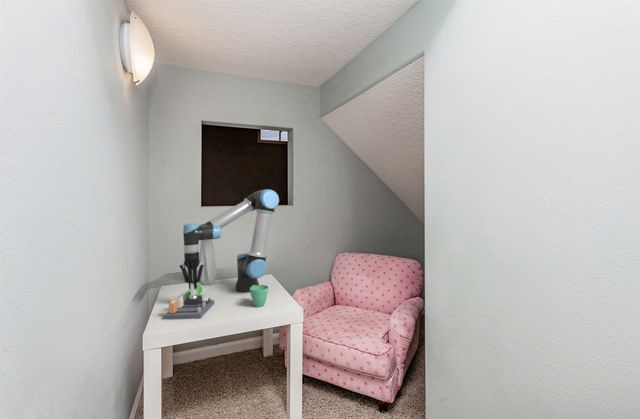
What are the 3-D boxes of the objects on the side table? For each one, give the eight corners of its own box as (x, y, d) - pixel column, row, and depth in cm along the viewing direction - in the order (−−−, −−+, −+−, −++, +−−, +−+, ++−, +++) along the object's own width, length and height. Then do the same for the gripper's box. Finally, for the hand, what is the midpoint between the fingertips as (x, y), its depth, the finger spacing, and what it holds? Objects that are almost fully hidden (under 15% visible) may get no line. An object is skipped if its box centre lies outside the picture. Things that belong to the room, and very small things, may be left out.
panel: (214, 303, 173) (213, 294, 173) (200, 318, 152) (200, 308, 152) (181, 304, 172) (181, 295, 172) (163, 319, 151) (163, 309, 151)
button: (199, 299, 171) (199, 293, 171) (196, 302, 167) (196, 296, 167) (191, 300, 171) (191, 293, 171) (188, 302, 167) (187, 296, 167)
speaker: (198, 303, 174) (198, 290, 174) (184, 304, 173) (184, 291, 172) (202, 293, 191) (202, 281, 191) (190, 295, 190) (189, 282, 189)
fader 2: (183, 305, 164) (182, 295, 164) (180, 308, 160) (179, 298, 160) (178, 305, 164) (178, 295, 164) (175, 308, 160) (175, 298, 160)
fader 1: (177, 310, 157) (177, 300, 157) (174, 313, 153) (173, 302, 153) (172, 310, 157) (172, 300, 157) (169, 313, 153) (168, 302, 153)
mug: (271, 306, 166) (271, 288, 166) (254, 310, 161) (253, 291, 161) (261, 299, 179) (260, 282, 178) (244, 302, 173) (244, 285, 173)
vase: (221, 281, 218) (219, 235, 217) (211, 286, 207) (209, 237, 205) (205, 280, 221) (204, 235, 219) (195, 285, 210) (193, 237, 208)
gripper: (206, 250, 172) (207, 292, 173) (182, 251, 171) (184, 292, 172) (201, 253, 164) (202, 296, 165) (176, 253, 164) (178, 297, 165)
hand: (193, 294), depth 169 cm, fingers closed
